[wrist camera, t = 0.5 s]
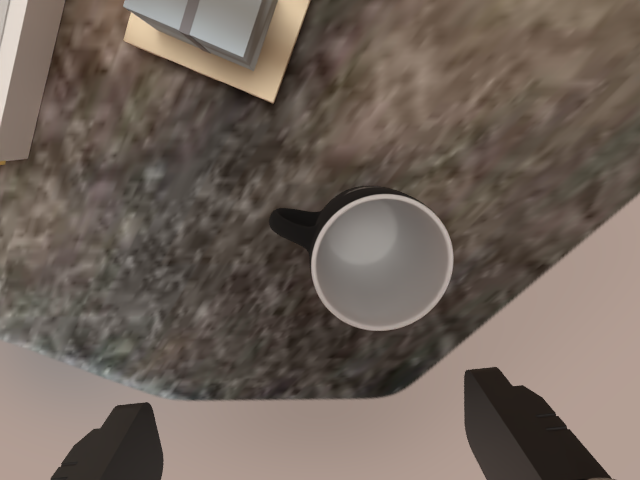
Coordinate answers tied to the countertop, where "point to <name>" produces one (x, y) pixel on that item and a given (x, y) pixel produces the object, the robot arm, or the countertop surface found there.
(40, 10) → the dock
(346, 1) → the countertop surface
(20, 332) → the countertop surface
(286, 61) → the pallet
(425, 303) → the mug
